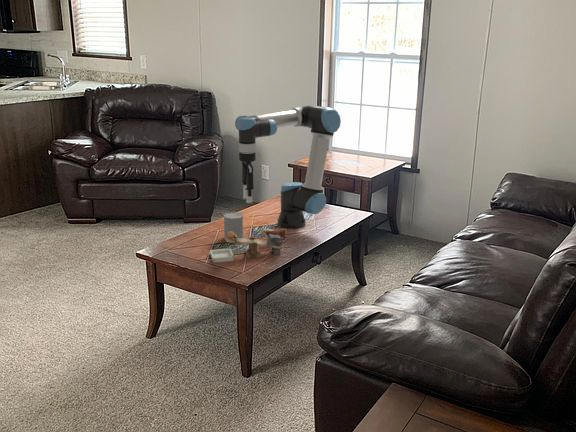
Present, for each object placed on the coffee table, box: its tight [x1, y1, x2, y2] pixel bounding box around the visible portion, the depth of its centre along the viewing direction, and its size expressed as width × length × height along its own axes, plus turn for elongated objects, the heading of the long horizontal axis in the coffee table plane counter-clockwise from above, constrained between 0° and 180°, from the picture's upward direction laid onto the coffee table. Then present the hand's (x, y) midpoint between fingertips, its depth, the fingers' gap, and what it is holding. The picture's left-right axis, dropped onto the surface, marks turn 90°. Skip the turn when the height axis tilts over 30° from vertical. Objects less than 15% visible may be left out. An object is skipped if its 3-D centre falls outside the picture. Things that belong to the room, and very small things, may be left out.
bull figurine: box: [259, 227, 287, 244], centre depth 289 cm, size 4×13×8 cm, turn 113°
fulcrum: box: [244, 236, 262, 259], centre depth 275 cm, size 6×8×7 cm
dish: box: [209, 248, 235, 264], centre depth 272 cm, size 10×11×2 cm
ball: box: [227, 231, 235, 238], centre depth 270 cm, size 4×4×4 cm
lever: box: [224, 233, 282, 249], centre depth 273 cm, size 26×6×5 cm, turn 106°
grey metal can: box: [223, 211, 244, 241], centre depth 294 cm, size 10×10×12 cm
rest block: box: [271, 248, 282, 256], centre depth 278 cm, size 3×6×2 cm, turn 16°
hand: (247, 200), depth 273 cm, fingers open, 6 cm apart
